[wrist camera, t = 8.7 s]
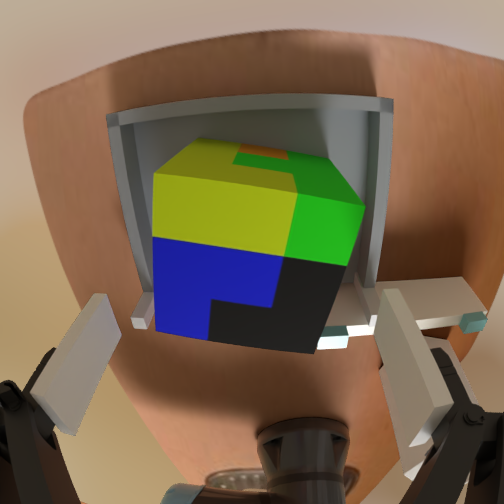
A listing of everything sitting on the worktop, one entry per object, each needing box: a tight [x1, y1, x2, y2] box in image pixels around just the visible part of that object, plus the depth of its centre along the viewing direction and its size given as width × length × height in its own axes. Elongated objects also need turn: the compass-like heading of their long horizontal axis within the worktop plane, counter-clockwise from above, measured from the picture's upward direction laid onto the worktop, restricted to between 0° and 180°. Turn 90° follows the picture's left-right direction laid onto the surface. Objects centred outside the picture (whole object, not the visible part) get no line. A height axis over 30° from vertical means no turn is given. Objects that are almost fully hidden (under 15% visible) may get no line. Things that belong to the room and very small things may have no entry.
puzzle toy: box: [152, 138, 366, 354], centre depth 21 cm, size 10×10×10 cm
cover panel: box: [317, 277, 488, 350], centre depth 26 cm, size 1×18×7 cm, turn 93°
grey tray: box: [106, 93, 393, 329], centre depth 23 cm, size 16×20×7 cm
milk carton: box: [379, 336, 479, 484], centre depth 26 cm, size 7×7×19 cm
